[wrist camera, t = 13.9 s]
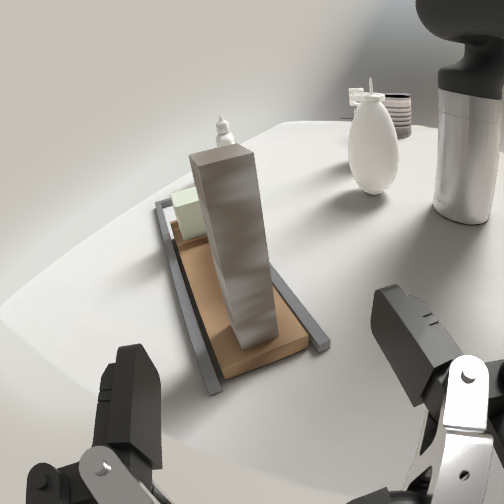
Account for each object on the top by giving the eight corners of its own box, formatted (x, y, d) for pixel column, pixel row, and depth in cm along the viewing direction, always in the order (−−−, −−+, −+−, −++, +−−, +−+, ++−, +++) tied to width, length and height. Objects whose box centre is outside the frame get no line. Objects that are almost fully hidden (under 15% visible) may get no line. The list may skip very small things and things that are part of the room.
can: (380, 138, 74) (378, 93, 68) (367, 129, 84) (365, 90, 77) (417, 137, 73) (417, 95, 67) (402, 128, 83) (401, 90, 76)
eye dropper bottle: (246, 168, 64) (237, 112, 58) (235, 178, 60) (224, 117, 53) (227, 168, 66) (217, 114, 59) (215, 178, 62) (203, 120, 55)
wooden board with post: (222, 221, 45) (200, 112, 36) (308, 347, 24) (295, 148, 16) (174, 236, 43) (144, 127, 35) (225, 379, 23) (162, 182, 14)
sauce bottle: (350, 202, 45) (344, 78, 35) (348, 183, 51) (341, 76, 41) (401, 203, 43) (402, 80, 33) (393, 183, 49) (391, 77, 39)
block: (215, 217, 43) (207, 182, 40) (225, 232, 39) (217, 195, 36) (179, 228, 42) (170, 193, 39) (185, 245, 38) (175, 207, 35)
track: (210, 191, 56) (209, 186, 55) (329, 348, 24) (330, 340, 23) (156, 207, 54) (154, 202, 53) (209, 395, 22) (206, 388, 21)
